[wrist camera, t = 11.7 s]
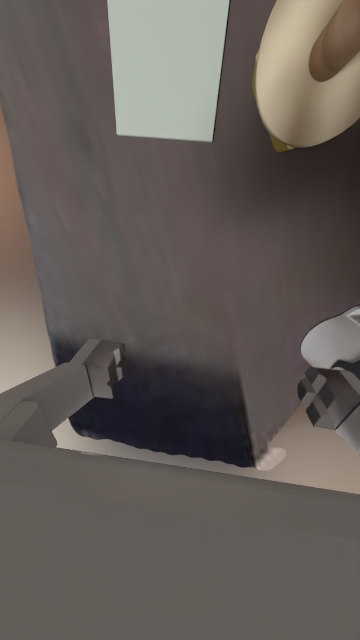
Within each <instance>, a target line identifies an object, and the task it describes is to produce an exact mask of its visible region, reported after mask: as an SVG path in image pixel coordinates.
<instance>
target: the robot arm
mask: <svg viewBox="0 0 360 640" xmlns="http://www.w3.org/2000/svg"><path fill="white" fill-rule="evenodd" d="M125 350H126V349H125V344H124V343H120V342H113V341H107V340H98V339H89V340H88V341H87V342H86V343H85V345H84V346H83V347H82V348H81V349H80V351H79V352H78V353H77V354H76V355H75V356H74V358H73V359H72V360H71V361H70V362H69V363H64V364H62V365H59V366H57V367H55V368H53V369H51V370H49V371H47V372H45V373H43V374H41V375H39V376H36V377H34V378H32V379H30V380H28V381H26V382H24V383H22V384H20V385H17V386H15V387H14V388H11V389H9V390H7V391H5V392H3V393H1V394H0V640H360V494H354V493H347V492H341V491H335V490H328V489H321V488H315V487H309V486H302V485H296V484H290V483H283V482H277V481H269V480H264V479H257V478H250V477H244V476H238V475H231V474H225V473H219V472H212V471H206V470H199V469H192V468H186V467H179V466H173V465H167V464H160V463H154V462H147V461H141V460H134V459H128V458H121V457H115V456H108V455H102V454H95V453H89V452H82V451H76V450H69V449H63V448H56V446H57V441H56V439H55V437H54V435H53V433H52V430H53V429H55V428H56V427H57V426H58V425H60V424H61V423H62V422H63V421H65V420H66V419H67V418H68V417H70V416H71V415H72V414H73V413H75V412H76V411H77V410H78V409H80V408H81V407H82V406H83V405H85V404H86V403H87V402H88V401H90V400H91V399H92V398H93V396H95V397H104V398H113V397H114V395H115V393H116V391H117V389H118V387H119V383H118V380H120V379H121V378H123V376H124V373H125V370H126V365H127V359H126V356H125V355H124V352H125ZM301 352H302V355H303V357H304V359H305V360H306V361H307V362H309V363H310V364H311V365H312V367H309V368H308V369H307V370H306V372H305V375H306V377H305V378H303V379H301V380H300V382H299V384H298V390H297V392H298V396H299V398H300V401H301V402H302V403H303V404H304V405H306V406H307V409H306V413H307V415H308V417H309V419H310V420H311V423H312V424H313V426H314V427H320V428H325V429H331V430H336V432H337V433H338V434H339V435H340V436H341V437H342V438H343V439H344V440H345V441H346V442H347V443H348V444H349V445H350V446H351V447H352V448H353V449H354V450H355V451H356V452H357V453H358V454H359V455H360V306H355V307H353V308H351V309H350V310H348V311H346V312H345V313H343V314H342V315H340V316H337V317H334V318H331V319H329V320H326V321H324V322H322V323H320V324H319V325H317V326H316V327H314V328H313V329H312V330H311V331H310V332H309V333H308V334H307V335H306V337H305V338H304V340H303V342H302V346H301Z"/></svg>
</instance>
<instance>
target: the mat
mask: <svg viewBox="0 0 360 640" xmlns="http://www.w3.org/2000/svg"><path fill="white" fill-rule="evenodd" d="M228 8H229V0H108V14H109V28H110V43H111V57H112V71H113V85H114V99H115V113H116V127H117V135H119V136H133V137H146V138H160V139H174V140H188V141H201V142H212V139H213V131H214V122H215V114H216V106H217V98H218V90H219V81H220V73H221V65H222V57H223V49H224V40H225V32H226V24H227V16H228Z"/></svg>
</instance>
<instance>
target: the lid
mask: <svg viewBox="0 0 360 640" xmlns="http://www.w3.org/2000/svg"><path fill="white" fill-rule="evenodd" d="M255 97H256V104H257V108H258V112H259V115H260V118H261V120H262V123H263V124H264V126H265V128H266V129H267V131H268V132H269V133H270V134H271V136H273V137H274V138H275V139H276V140H277V141H279V142H281V143H282V144H285V145H287V146H290V147H297V148H302V147H310V146H315V145H318V144H321V143H323V142H325V141H327V140H329V139H331V138H333V137H335V136H337V135H338V134H340V133H342V132H343V131H345V130H346V129H347V128H349V127H350V126H351V125H353V124H354V123H355V122H356V121H357V120H358V119H359V118H360V0H277V2H276V4H275V6H274V8H273V10H272V13H271V15H270V18H269V20H268V23H267V25H266V28H265V31H264V34H263V37H262V41H261V44H260V48H259V52H258V57H257V62H256V70H255Z"/></svg>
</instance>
